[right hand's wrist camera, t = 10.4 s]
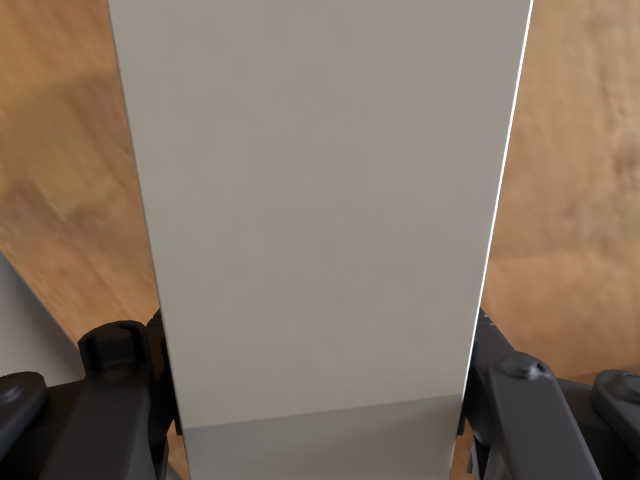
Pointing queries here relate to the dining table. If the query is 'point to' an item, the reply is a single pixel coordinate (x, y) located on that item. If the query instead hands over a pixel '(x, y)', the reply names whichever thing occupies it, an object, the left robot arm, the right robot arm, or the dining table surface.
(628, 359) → the dining table surface
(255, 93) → the beam
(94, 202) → the dining table surface
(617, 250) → the dining table surface
